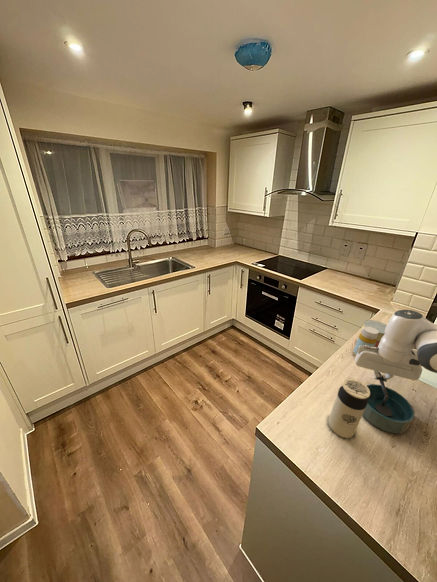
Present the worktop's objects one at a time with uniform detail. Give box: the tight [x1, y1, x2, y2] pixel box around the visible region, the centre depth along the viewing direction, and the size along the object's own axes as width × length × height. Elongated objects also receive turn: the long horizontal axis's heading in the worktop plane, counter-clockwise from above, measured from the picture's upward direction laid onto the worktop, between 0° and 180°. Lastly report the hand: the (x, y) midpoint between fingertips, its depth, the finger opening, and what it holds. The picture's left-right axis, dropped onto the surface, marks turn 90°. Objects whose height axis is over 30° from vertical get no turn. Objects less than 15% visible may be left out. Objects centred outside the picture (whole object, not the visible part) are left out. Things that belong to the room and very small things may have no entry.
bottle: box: [352, 326, 379, 357], centre depth 108 cm, size 7×7×15 cm
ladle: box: [374, 372, 393, 418], centre depth 86 cm, size 5×17×7 cm, turn 159°
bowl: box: [362, 383, 416, 434], centre depth 82 cm, size 15×15×6 cm
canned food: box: [360, 319, 387, 348], centre depth 115 cm, size 11×11×12 cm
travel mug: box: [327, 377, 370, 439], centre depth 74 cm, size 8×8×18 cm
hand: (379, 379), depth 90 cm, fingers closed on ladle
